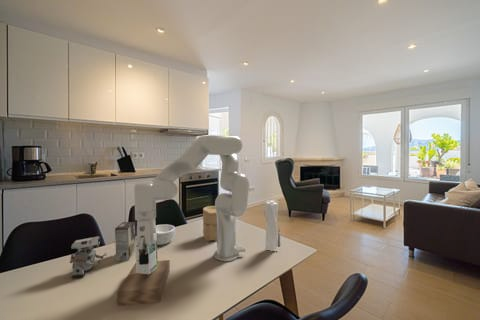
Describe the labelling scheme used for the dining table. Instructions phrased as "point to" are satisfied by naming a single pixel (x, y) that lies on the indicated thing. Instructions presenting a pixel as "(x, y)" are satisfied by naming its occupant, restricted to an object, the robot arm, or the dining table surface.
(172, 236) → the paper bowls
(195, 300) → the dining table surface
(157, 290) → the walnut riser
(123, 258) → the coffee box
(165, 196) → the robot arm
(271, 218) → the skyscraper
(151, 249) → the syrup box
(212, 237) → the container
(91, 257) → the figurine
